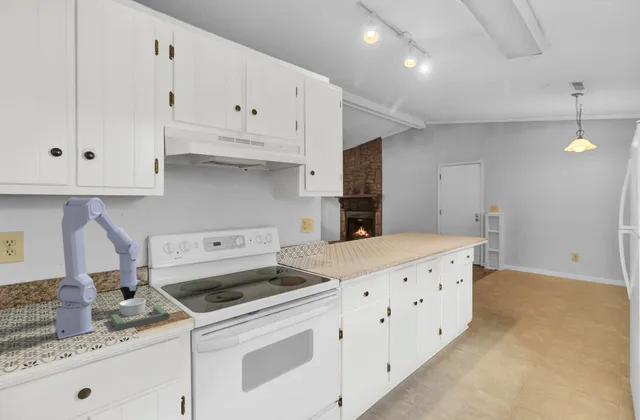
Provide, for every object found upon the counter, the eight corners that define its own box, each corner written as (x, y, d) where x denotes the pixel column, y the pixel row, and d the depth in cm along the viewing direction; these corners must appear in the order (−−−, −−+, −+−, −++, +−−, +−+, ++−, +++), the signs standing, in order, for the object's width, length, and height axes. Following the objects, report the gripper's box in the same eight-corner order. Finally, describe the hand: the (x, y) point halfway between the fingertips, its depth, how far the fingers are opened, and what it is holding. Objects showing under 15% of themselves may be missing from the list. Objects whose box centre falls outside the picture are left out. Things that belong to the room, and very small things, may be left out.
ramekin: (134, 317, 126) (134, 306, 125) (113, 315, 128) (113, 304, 127) (151, 309, 134) (151, 298, 134) (131, 308, 136) (131, 297, 136)
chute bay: (118, 330, 114) (118, 324, 113) (111, 320, 123) (110, 314, 122) (168, 318, 124) (168, 313, 124) (158, 310, 133) (158, 305, 133)
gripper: (144, 272, 132) (145, 307, 132) (134, 266, 143) (135, 298, 143) (123, 275, 127) (124, 311, 128) (115, 268, 138) (116, 302, 139)
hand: (129, 305), depth 135 cm, fingers closed
